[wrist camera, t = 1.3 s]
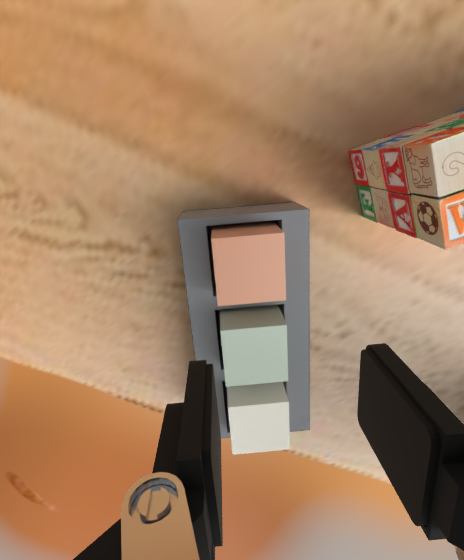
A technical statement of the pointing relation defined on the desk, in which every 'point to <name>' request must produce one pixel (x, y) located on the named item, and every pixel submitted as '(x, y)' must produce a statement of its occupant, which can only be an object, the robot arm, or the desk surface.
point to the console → (207, 312)
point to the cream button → (258, 418)
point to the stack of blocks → (416, 180)
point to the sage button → (254, 345)
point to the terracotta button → (249, 263)
